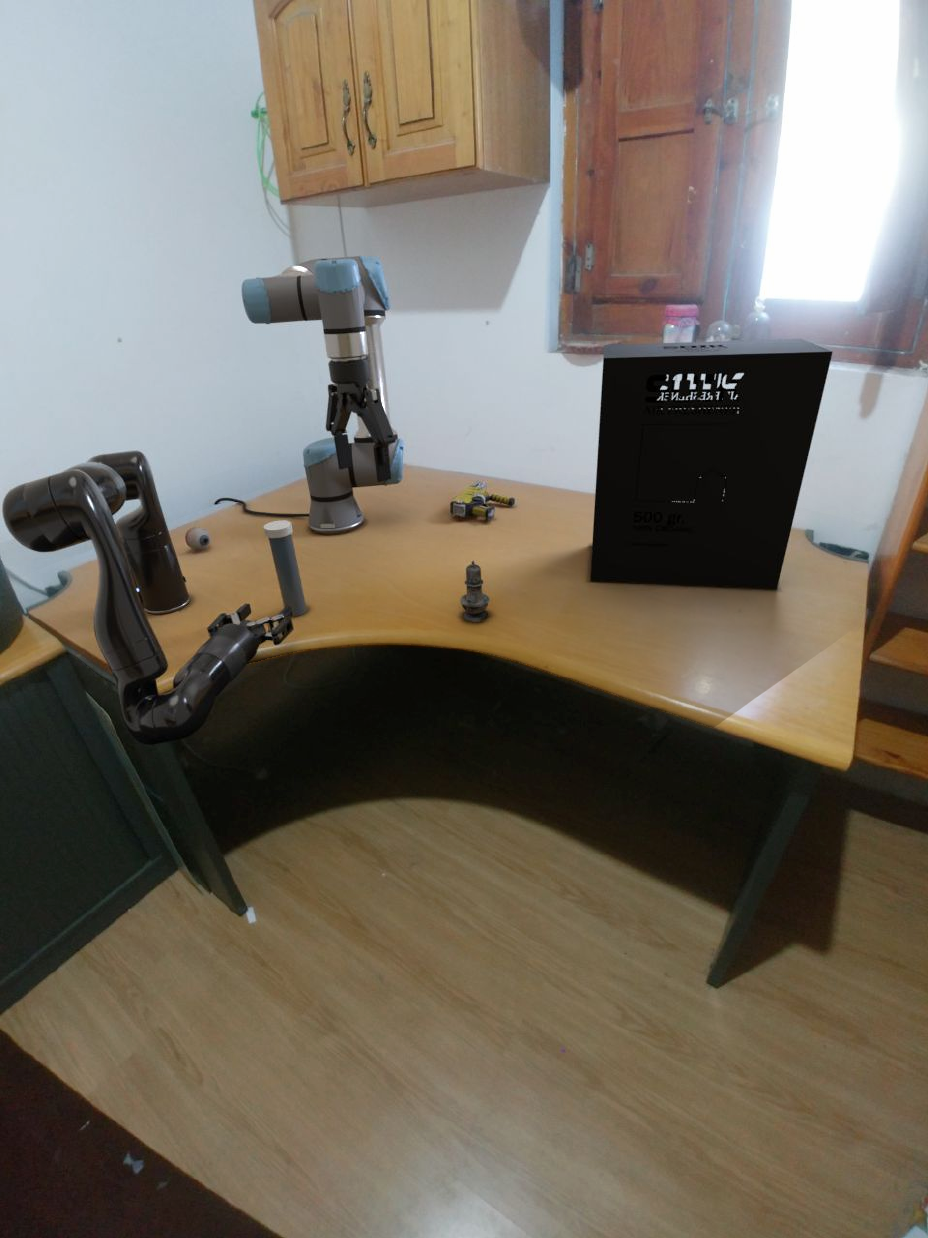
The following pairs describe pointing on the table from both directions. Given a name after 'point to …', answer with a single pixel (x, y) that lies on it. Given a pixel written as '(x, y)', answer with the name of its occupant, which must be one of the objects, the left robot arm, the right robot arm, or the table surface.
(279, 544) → the bottle
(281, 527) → the lid
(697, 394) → the cardboard box
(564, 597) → the table surface
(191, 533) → the eyeball
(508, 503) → the toy gun
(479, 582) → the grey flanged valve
